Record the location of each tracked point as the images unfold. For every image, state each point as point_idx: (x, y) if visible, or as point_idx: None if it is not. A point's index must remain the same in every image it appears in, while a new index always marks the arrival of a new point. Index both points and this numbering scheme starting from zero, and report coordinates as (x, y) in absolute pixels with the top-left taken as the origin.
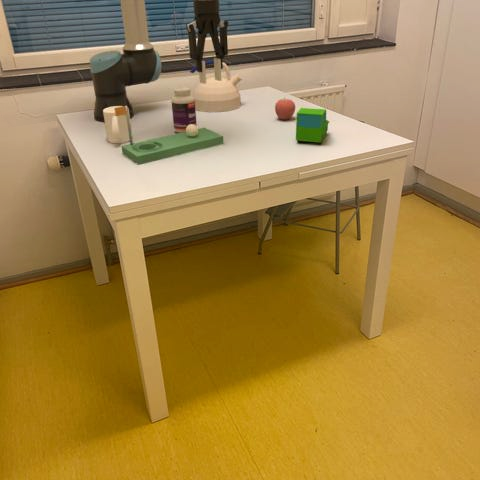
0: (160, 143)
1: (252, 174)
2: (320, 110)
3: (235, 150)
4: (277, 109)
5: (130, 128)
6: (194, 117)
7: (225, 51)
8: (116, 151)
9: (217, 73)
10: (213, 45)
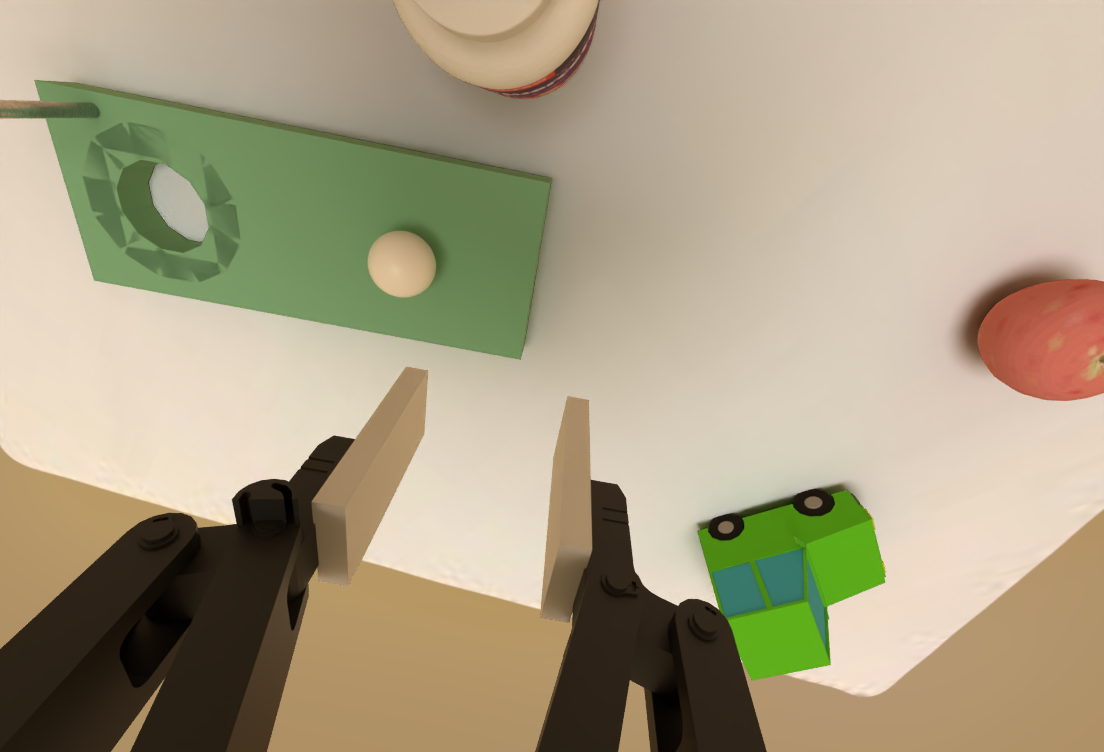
0: (236, 218)
1: (410, 564)
2: (804, 658)
3: (503, 426)
4: (1004, 334)
5: (6, 115)
6: (544, 89)
7: (661, 716)
8: (46, 18)
9: (555, 475)
10: (542, 742)
